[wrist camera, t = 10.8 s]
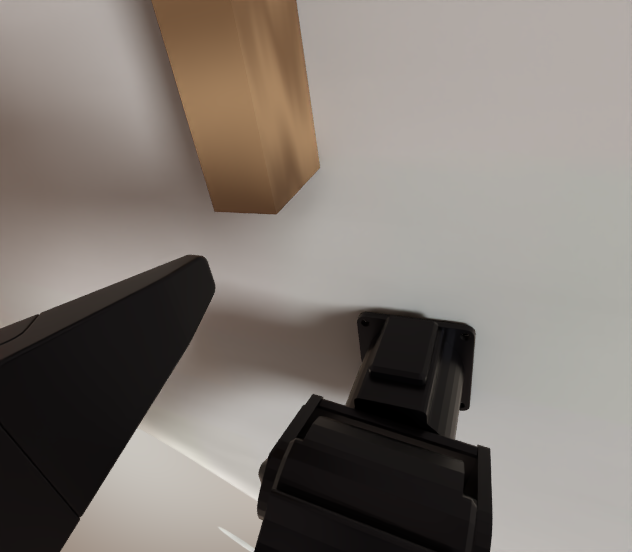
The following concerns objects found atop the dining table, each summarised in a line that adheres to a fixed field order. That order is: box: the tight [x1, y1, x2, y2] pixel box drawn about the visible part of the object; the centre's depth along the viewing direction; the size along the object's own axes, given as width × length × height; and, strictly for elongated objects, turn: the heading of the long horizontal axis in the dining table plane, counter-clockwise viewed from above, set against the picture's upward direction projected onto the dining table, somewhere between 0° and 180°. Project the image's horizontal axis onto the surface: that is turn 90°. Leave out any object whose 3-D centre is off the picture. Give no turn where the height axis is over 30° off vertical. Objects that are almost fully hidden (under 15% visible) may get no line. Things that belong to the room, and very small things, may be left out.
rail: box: [151, 0, 320, 214], centre depth 16 cm, size 14×3×5 cm, turn 9°
